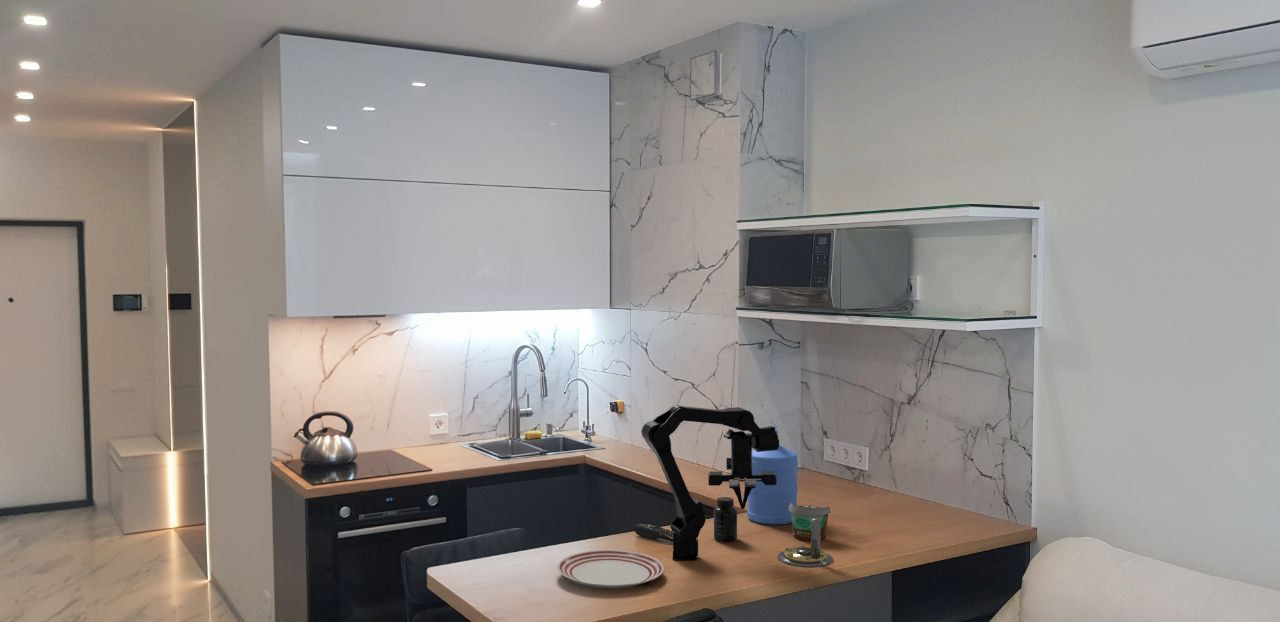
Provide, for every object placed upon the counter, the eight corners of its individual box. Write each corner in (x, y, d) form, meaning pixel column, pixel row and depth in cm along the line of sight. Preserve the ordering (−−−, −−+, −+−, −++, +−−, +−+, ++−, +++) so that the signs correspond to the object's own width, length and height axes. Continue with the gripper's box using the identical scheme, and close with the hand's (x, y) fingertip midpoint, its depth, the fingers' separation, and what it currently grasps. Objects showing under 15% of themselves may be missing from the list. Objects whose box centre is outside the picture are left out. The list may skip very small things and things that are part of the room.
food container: (784, 540, 286) (784, 506, 285) (788, 534, 292) (789, 501, 291) (826, 544, 282) (827, 510, 281) (830, 539, 287) (830, 505, 287)
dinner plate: (685, 576, 253) (685, 564, 253) (612, 603, 233) (612, 590, 232) (608, 555, 271) (608, 543, 271) (534, 578, 251) (534, 565, 251)
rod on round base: (775, 554, 271) (775, 512, 270) (809, 548, 276) (809, 508, 275) (800, 565, 260) (801, 522, 260) (835, 559, 266) (836, 517, 265)
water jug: (800, 526, 301) (801, 435, 300) (748, 525, 302) (749, 435, 301) (794, 513, 317) (795, 427, 316) (745, 512, 318) (746, 426, 316)
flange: (780, 566, 261) (780, 558, 261) (774, 550, 276) (775, 541, 276) (837, 567, 260) (837, 559, 260) (828, 550, 275) (828, 542, 275)
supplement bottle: (722, 534, 291) (722, 494, 291) (741, 538, 287) (742, 498, 286) (708, 539, 286) (709, 499, 285) (728, 544, 282) (728, 502, 281)
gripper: (773, 447, 280) (774, 501, 281) (708, 447, 281) (709, 501, 282) (776, 455, 269) (777, 511, 270) (707, 456, 270) (709, 511, 271)
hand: (742, 508), depth 273 cm, fingers closed
